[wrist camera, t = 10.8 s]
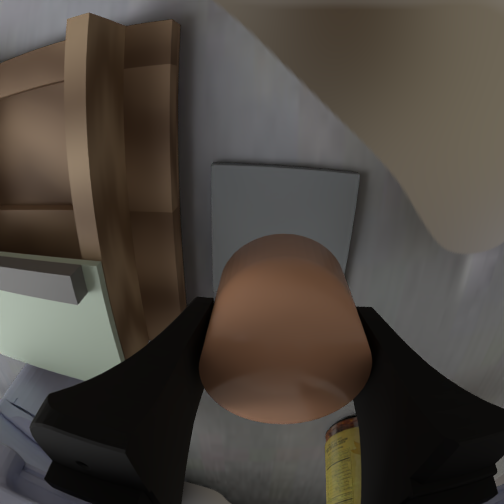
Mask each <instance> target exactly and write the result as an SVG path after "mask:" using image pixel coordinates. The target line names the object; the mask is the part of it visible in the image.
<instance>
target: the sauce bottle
mask: <svg viewBox="0 0 504 504" xmlns="http://www.w3.org/2000/svg"><path fill="white" fill-rule="evenodd" d="M325 462H326V495H327V504H361V450H360V435H359V426H358V420H357V417H353V418H348V419H345V420H343V421H340V422H338V423H336V424H335V425H333V426H332V427H331V428H330V429H329V430H328V431H327V433H326V444H325Z"/></svg>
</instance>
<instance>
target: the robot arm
mask: <svg viewBox="0 0 504 504" xmlns="http://www.w3.org/2000/svg"><path fill="white" fill-rule="evenodd" d="M213 305H214V298H205V297H196V298H195V299H194V300H193V301H192V302H191V303H190V304H189V305H188V306H187V307H186V308H185V309H184V310H183V311H182V313H181V314H180V315H179V316H178V317H177V318H176V319H175V320H174V321H173V322H172V323H170V324H169V325H168V326H167V327H166V328H165V329H164V330H163V331H162V332H161V333H160V334H159V335H157V336H156V337H155V338H154V339H153V340H152V341H151V342H149V343H148V344H147V345H146V346H144V347H143V348H142V349H140V350H139V351H138V352H136V353H135V354H134V355H132V356H131V357H129V358H128V359H126V360H125V361H123V362H121V363H119V364H118V365H116V366H114V367H112V368H111V369H109V370H107V371H105V372H103V373H102V374H99V375H97V376H95V377H93V378H91V379H89V380H86V381H84V380H80V379H76V378H72V377H69V376H65V375H62V374H59V373H55V372H52V371H49V370H46V369H42V368H39V367H36V366H33V365H30V364H27V363H26V364H25V366H24V367H23V368H22V370H21V371H20V373H19V374H18V375H17V377H16V378H15V380H14V381H13V383H12V384H11V385H10V387H9V388H8V390H7V391H6V393H5V394H4V396H3V397H2V399H1V400H0V504H181V502H182V492H183V485H184V478H185V471H186V464H187V458H188V452H189V446H190V440H191V435H192V430H193V424H194V420H195V416H196V412H197V409H198V406H199V402H200V399H201V396H202V393H203V390H204V386H203V384H202V382H201V378H200V374H199V362H200V357H201V353H202V349H203V345H204V341H205V337H206V333H207V329H208V325H209V321H210V317H211V313H212V309H213ZM356 309H357V312H358V315H359V317H360V320H361V323H362V326H363V329H364V332H365V335H366V338H367V341H368V344H369V347H370V350H371V355H372V368H371V373H370V376H369V378H368V381H367V383H366V384H365V386H364V388H363V389H362V390H361V391H360V393H359V394H358V395H357V396H356V397H355V398H354V399H353V401H354V406H355V411H356V415H357V420H358V426H359V435H360V450H361V504H504V484H502V485H500V486H497V487H496V484H495V481H494V477H493V476H494V475H495V474H496V473H497V468H496V465H495V463H496V462H497V461H498V460H499V459H501V458H502V457H503V456H504V409H503V408H501V407H498V406H496V405H493V404H491V403H489V402H487V401H484V400H483V399H481V398H479V397H477V396H475V395H473V394H471V393H469V392H468V391H466V390H464V389H463V388H461V387H459V386H458V385H456V384H455V383H453V382H452V381H450V380H449V379H447V378H446V377H445V376H443V375H442V374H440V373H439V372H438V371H437V370H435V369H434V368H433V367H432V366H430V365H429V364H428V363H427V362H426V361H424V360H423V359H422V358H421V357H420V356H419V355H418V354H417V353H416V352H415V351H413V350H412V349H411V348H410V347H409V346H408V345H407V344H406V343H405V342H404V341H403V340H402V339H401V338H400V337H399V336H398V335H397V333H396V332H395V331H394V330H393V329H392V328H391V327H390V326H389V325H388V324H387V323H386V322H385V321H384V319H383V318H382V317H381V316H380V315H379V314H378V313H377V312H376V311H375V310H374V309H373V308H372V307H356Z"/></svg>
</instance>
